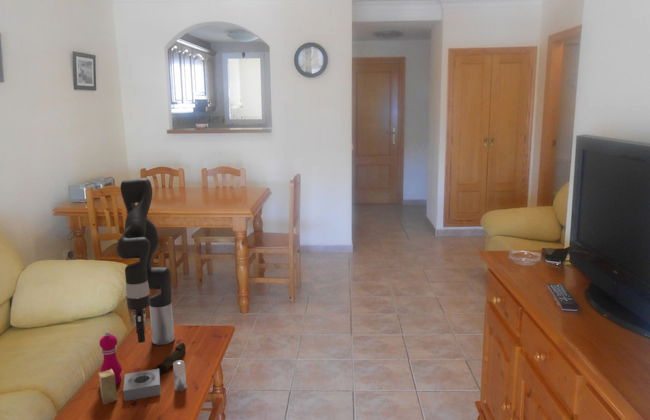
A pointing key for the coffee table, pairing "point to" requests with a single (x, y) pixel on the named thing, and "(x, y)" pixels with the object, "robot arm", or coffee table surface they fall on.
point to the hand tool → (171, 358)
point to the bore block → (141, 384)
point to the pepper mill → (110, 355)
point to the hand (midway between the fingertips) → (141, 336)
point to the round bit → (179, 375)
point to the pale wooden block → (108, 386)
